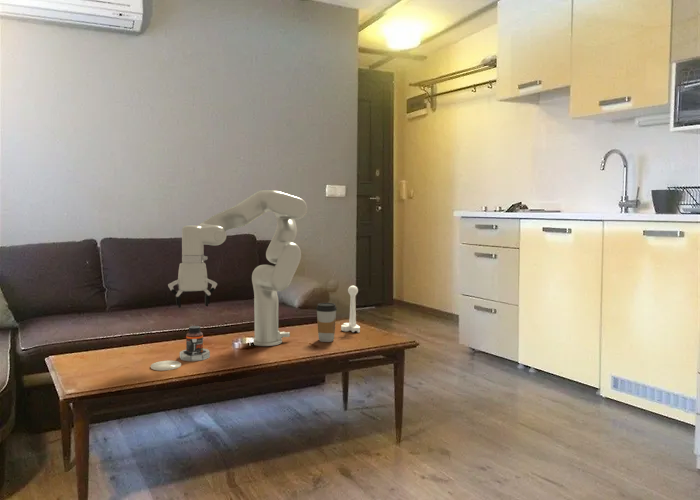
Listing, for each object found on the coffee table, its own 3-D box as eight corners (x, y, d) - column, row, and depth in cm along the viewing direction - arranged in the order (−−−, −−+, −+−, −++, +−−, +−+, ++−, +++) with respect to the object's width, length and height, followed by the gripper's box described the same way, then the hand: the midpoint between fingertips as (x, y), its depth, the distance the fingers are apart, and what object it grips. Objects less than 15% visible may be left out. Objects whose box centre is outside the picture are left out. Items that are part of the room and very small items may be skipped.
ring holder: (206, 352, 220) (206, 345, 220) (211, 359, 211) (211, 352, 211) (178, 355, 216) (178, 348, 216) (182, 362, 207) (182, 355, 207)
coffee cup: (334, 343, 236) (334, 306, 235) (314, 342, 237) (314, 305, 236) (338, 338, 244) (338, 302, 243) (318, 337, 245) (318, 302, 244)
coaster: (179, 361, 209) (178, 359, 209) (182, 368, 199) (182, 366, 199) (149, 364, 205) (149, 362, 205) (152, 371, 195) (152, 370, 195)
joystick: (362, 332, 255) (362, 287, 254) (346, 333, 252) (346, 288, 251) (352, 327, 266) (352, 283, 264) (336, 328, 263) (337, 284, 261)
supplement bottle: (198, 360, 210) (198, 329, 209) (183, 358, 211) (182, 328, 210) (206, 355, 216) (205, 325, 215) (191, 354, 217) (190, 324, 216)
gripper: (215, 258, 218) (215, 303, 219) (166, 259, 211) (167, 305, 212) (218, 260, 211) (218, 307, 212) (169, 261, 204) (169, 309, 205)
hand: (193, 306), depth 212 cm, fingers open, 9 cm apart
